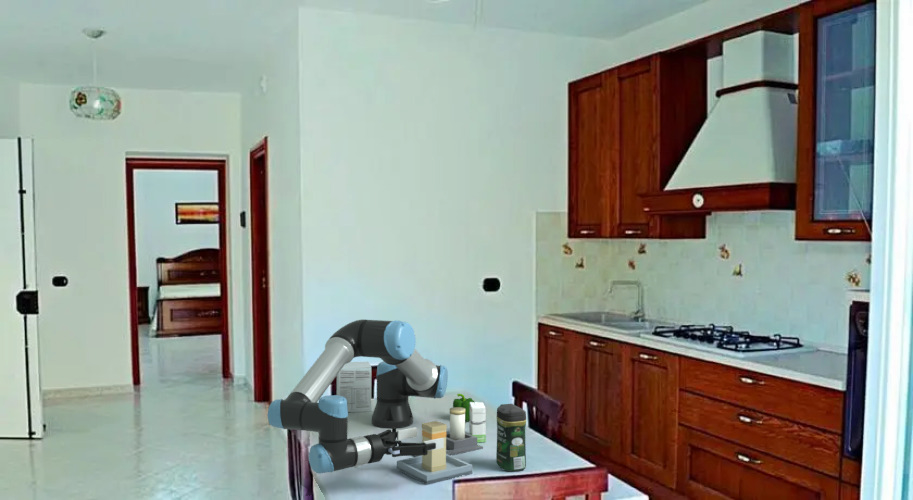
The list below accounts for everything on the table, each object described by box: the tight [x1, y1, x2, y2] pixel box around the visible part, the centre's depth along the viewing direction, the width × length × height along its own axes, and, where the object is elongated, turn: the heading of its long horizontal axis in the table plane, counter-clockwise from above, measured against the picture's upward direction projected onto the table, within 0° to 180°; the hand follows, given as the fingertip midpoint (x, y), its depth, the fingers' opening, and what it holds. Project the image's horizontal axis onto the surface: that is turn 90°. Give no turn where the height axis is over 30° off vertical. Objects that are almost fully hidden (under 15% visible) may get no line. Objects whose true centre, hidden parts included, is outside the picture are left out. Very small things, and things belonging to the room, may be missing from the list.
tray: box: [396, 454, 473, 486], centre depth 210 cm, size 16×16×2 cm
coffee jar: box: [495, 403, 527, 472], centre depth 214 cm, size 10×8×19 cm
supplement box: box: [336, 361, 372, 413], centre depth 285 cm, size 13×13×18 cm
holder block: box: [414, 432, 484, 457], centre depth 232 cm, size 15×22×3 cm
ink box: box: [468, 401, 487, 443], centre depth 243 cm, size 9×5×12 cm, turn 5°
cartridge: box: [449, 407, 466, 440], centre depth 236 cm, size 5×5×12 cm
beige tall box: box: [421, 420, 448, 472], centre depth 210 cm, size 5×5×13 cm
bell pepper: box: [452, 393, 475, 422], centre depth 268 cm, size 8×8×10 cm
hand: (429, 437), depth 208 cm, fingers open, 13 cm apart
